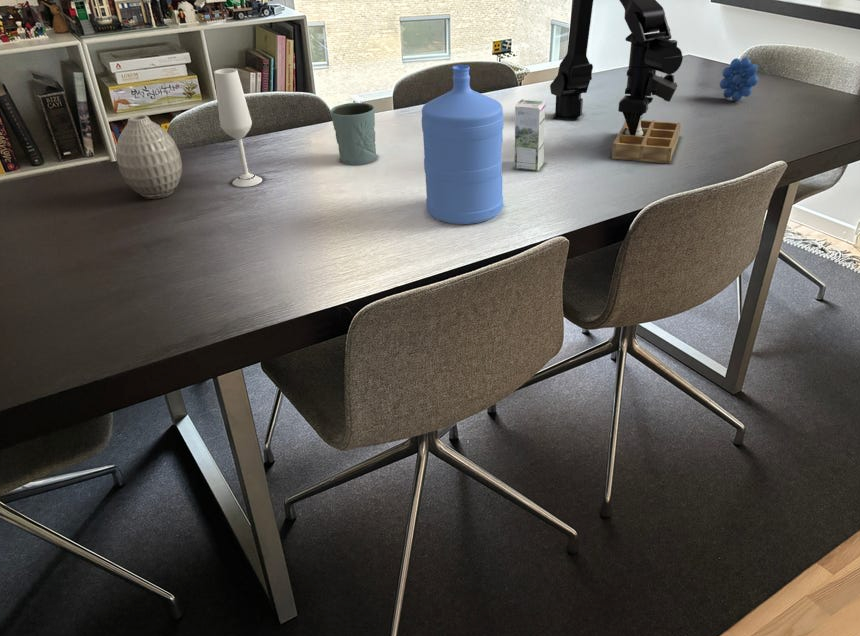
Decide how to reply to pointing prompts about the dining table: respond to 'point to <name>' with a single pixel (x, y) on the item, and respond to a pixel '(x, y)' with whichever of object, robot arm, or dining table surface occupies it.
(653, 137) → the rack
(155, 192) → the vase
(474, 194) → the water jug
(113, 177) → the dining table surface
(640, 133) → the rook chess piece
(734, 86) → the grapes
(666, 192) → the dining table surface
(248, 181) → the champagne flute
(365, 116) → the green embossed cup
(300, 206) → the dining table surface
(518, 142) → the syrup box
